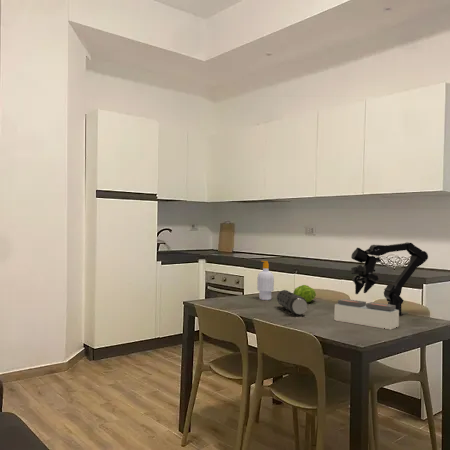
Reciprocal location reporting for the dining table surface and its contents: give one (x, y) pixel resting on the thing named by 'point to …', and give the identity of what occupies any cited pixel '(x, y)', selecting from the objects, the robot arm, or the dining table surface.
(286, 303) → the grey foam roller
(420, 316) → the dining table surface
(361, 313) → the switch block
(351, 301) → the key
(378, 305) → the key
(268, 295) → the soap bottle
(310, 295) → the lettuce
